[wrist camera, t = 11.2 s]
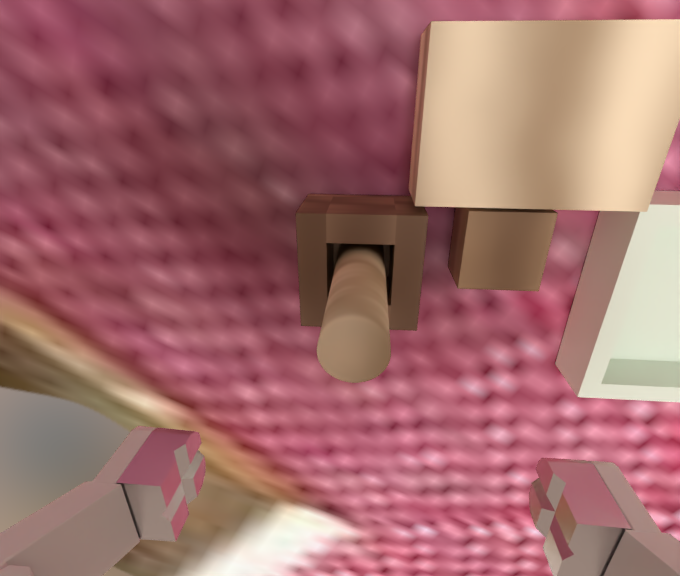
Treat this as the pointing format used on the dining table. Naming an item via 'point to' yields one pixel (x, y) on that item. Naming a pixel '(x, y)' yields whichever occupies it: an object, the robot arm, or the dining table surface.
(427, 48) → the board
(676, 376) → the tray
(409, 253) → the socket block
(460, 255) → the small brown block
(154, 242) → the dining table surface
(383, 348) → the dowel
